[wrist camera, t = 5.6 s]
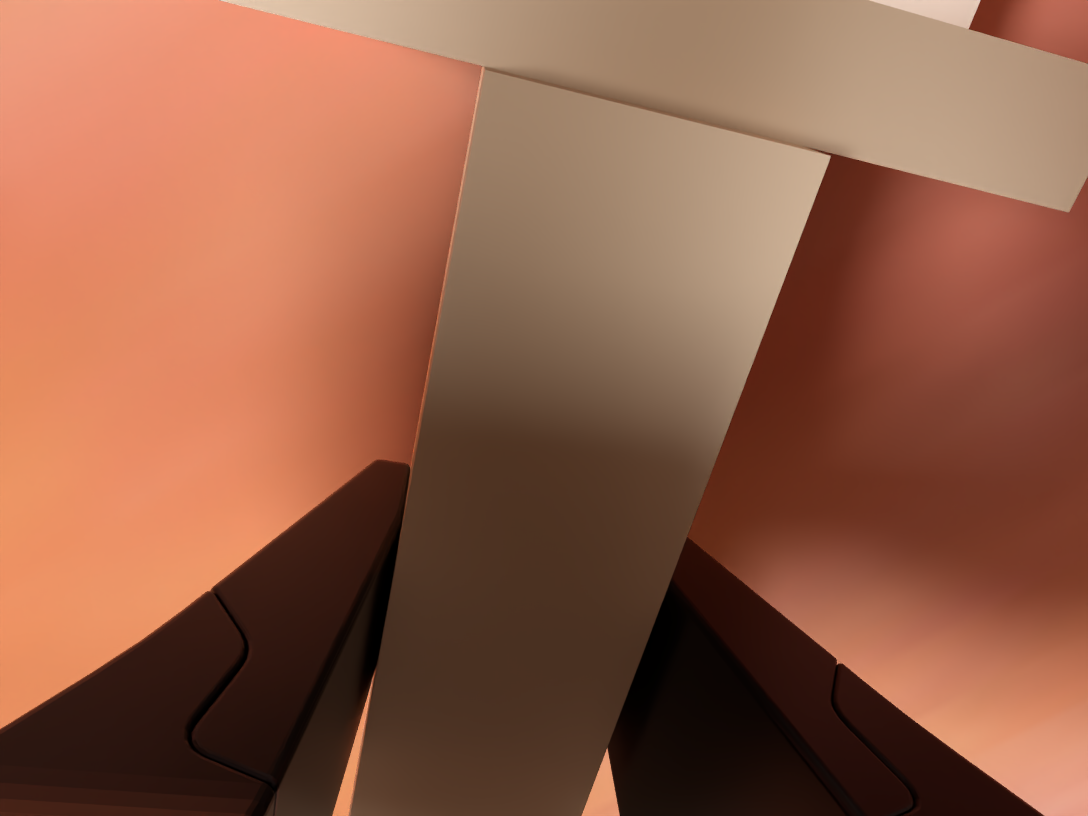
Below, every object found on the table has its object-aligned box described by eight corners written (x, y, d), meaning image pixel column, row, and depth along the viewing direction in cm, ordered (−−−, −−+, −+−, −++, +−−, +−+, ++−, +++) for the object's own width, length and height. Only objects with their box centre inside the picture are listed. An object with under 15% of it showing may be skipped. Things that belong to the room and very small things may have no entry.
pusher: (902, 61, 9) (1196, 81, 5) (637, 730, 13) (694, 987, 10) (276, -112, 8) (90, -242, 4) (223, 686, 12) (116, 959, 9)
